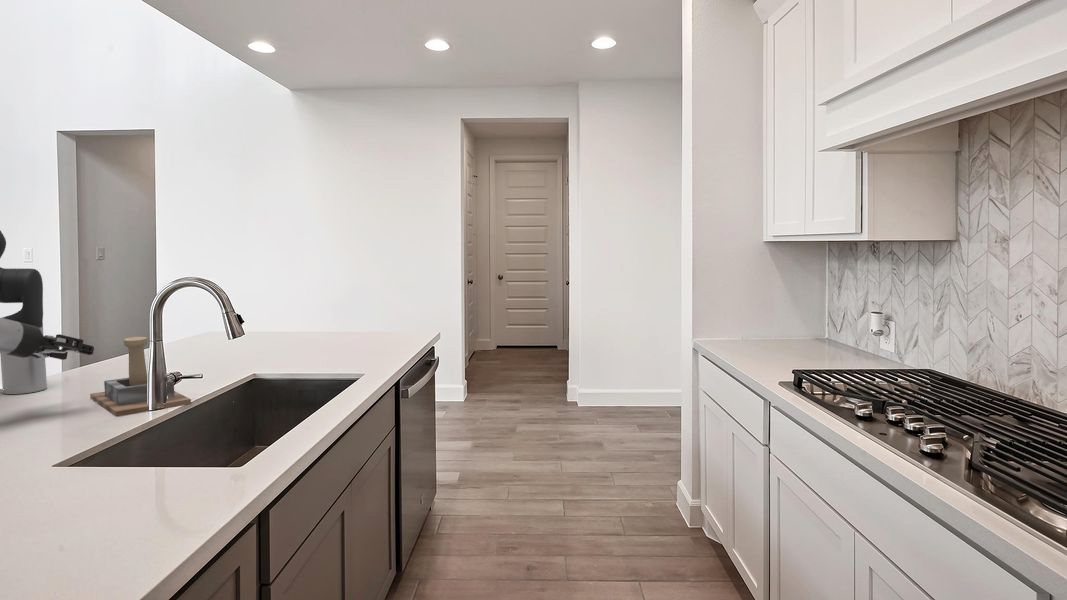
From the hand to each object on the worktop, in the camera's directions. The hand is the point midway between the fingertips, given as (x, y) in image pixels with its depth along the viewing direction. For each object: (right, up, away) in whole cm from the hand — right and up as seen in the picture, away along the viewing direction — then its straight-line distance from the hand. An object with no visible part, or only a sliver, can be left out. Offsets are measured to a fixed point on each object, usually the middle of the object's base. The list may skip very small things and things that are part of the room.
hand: (79, 353), depth 149 cm
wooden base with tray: (+11, -13, +6) cm, 18 cm away
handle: (+11, -12, +5) cm, 17 cm away
